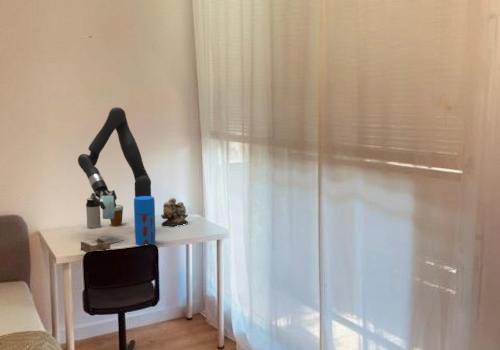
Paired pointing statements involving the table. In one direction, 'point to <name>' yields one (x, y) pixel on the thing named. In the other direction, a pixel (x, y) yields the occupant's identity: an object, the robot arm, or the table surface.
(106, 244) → the cradle
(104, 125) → the robot arm
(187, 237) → the table surface
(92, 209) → the travel mug
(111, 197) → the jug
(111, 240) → the mat
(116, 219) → the disposable coffee cup
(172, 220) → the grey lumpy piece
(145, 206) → the thermos
